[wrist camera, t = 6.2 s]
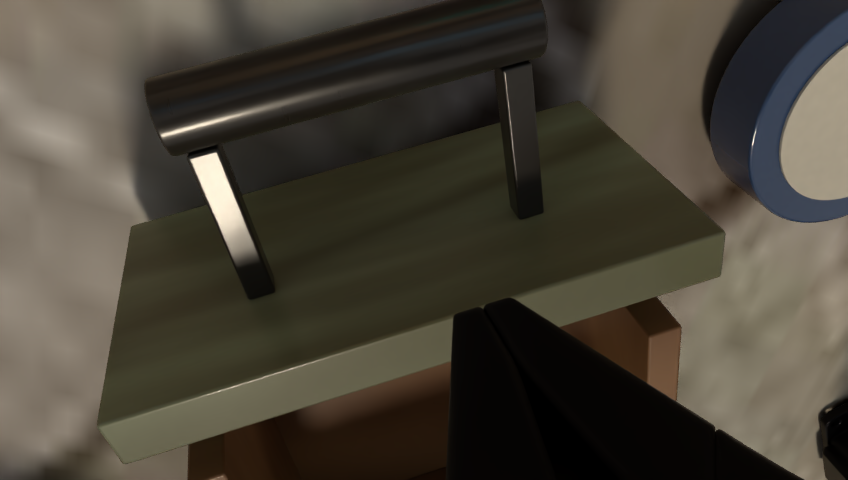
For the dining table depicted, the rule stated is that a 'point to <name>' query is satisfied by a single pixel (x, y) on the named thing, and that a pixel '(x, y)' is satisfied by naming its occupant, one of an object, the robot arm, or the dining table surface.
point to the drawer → (380, 255)
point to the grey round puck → (788, 112)
